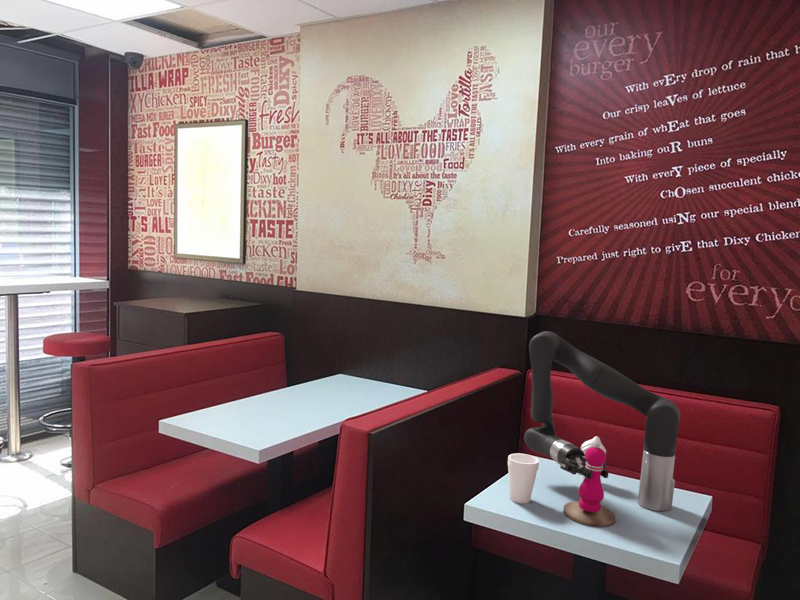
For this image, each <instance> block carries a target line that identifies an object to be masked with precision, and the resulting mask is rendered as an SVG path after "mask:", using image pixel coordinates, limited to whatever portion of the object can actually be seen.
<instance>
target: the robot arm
mask: <svg viewBox="0 0 800 600" xmlns="http://www.w3.org/2000/svg"><path fill="white" fill-rule="evenodd" d="M528 347H529V348H528V350H529V359H530V365H531V366H530V367H531V386H532V387H531V400H530V401H531V402H530V403H531V405H530V418H531V419H532V420H533V421H534V422H537V423H541V424H542V426H541V427H531V428H528V429H527V430H526V431H525V433H524V435H523V440H524V443H525V444H526V446H527V448H529V450H532V451H533V452H536V453H540V454H542V455H546V456H548V457H549V458H551V459H552V460H553V461H554V462H556V463H557V464H559V466H560V468H559V469H561V470H563V471H565V472H567V473H570V474H571V475H577V474H578V475H579V476H582V477H583V476H585V477H586V478H588V479H591V478H592V472H591V471H590V470H588V469H587V468H586V467H585V466H586V462H587V460H586V459H585V454H584V452H583V451H582V450H581V448H579V447H578V446H576V445H574V444H573V443H571V442H569V441H567V440H564V439H563V438H561V437H559V436H558V435H557V433H556V427H555V424H554V417H553V408H554V407H553V406H554V405H553V403H554V397H553V396H554V394H553V387H552V381H551V380H552V379H551V377H552V376H551V371H552V364H553V361H554V362H556V363H557V364H559V365H561V366H563V367H565V368H566V369H568V370H569V371H570V373H572V374H573V375H574V376H575V377H576V378H577V379H578V380H579V381H580V382H581V383H582V384H584V385H585V386H586V387H587V388H589V389H590V390H592V391H594V392H595V393H597V394H599V395H600V396H603V397H604V398H606V399H609V400H611V401H614V402H617V403H621V404H623V405H625V406H628V407H630V408H632V409H633V410H636V411H637V412H639V413H640V414H642V415H643V416H645V417H646V421H645V428H644V437H643V438H644V439H643V443H644V444H643V452H642V460H641V469H640V479H639V487H638V488H639V489H638V495H637V504H638V505H639V506H641V507H643V508H645V509H647V510H651V511H655V512H656V511H658V512H665V511H669V510H672V508H673V499H674V493H675V492H674V491H675V483H676V480H675V479H674V478H673V476H674V469H675V459H676V451H677V440H678V432H679V425H680V424H679V423H680V420H681V412H680V409H679V407H678V405H676V403H674V402H673V401H671V400H670V399H668V398H666V397H663V396H660V395H658V394H656V393H654V392H652V391H651V390H647V389H646V388H644V387H642V386H641V385H639V384H638V383H636V382H635V381H633V380H632V379H630V378H629V377H627V376H626V375H624V374H622V373H621V372H619V371H618V370H616V369H615V368H613V367H612V366H609V365H607V364H605V363H604V362H602V361H600V360H598V359H596V358H594V357H592V356H591V355H588V354H587V353H585V352H583V351H581V350H579V349H577V348H576V347H574V346H573V345H572V344H570V343H569V342H568V341H566V340H565V339H563V337H560V336H559V334H557V333H554V331H549V330H548V331H547V330H546V331H540V333H539V332H538V333H537V334H536V335H534V336H533V337H532V338H531V339H530V340H529V344H528ZM606 467H607V464H606V462H604V463H603V470H602V471H601V477H602V478H604V479H608V478H609V470H607V469H606Z"/></svg>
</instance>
